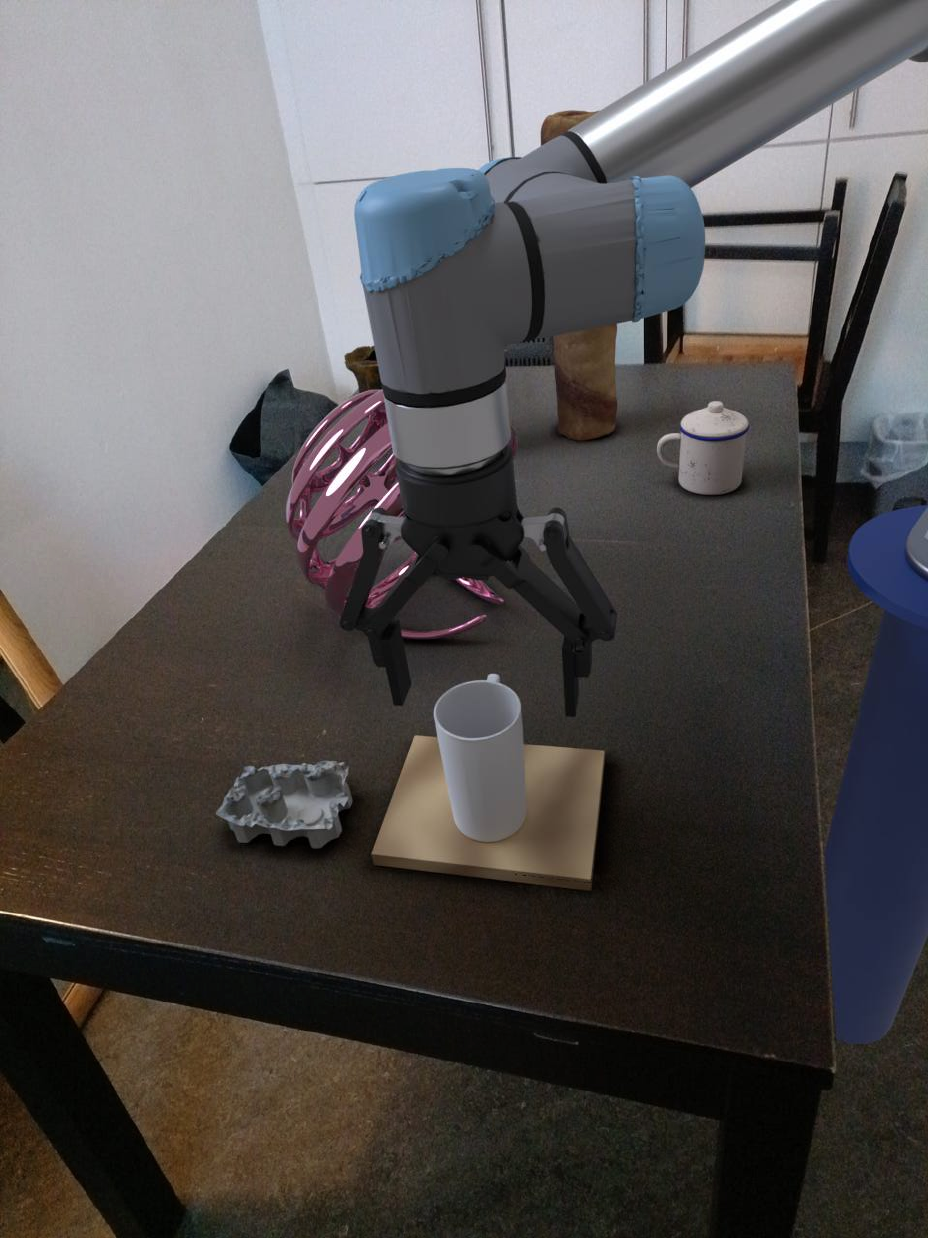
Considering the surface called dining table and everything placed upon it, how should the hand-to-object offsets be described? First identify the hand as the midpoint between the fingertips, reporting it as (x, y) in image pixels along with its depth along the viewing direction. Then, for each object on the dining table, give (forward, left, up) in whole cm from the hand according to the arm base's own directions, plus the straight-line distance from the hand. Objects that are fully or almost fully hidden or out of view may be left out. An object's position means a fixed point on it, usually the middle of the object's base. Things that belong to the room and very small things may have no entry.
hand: (485, 699), depth 64 cm
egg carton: (+18, +3, -13) cm, 23 cm away
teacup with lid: (-18, -63, -13) cm, 67 cm away
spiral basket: (+15, -31, -13) cm, 37 cm away
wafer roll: (0, -82, -13) cm, 83 cm away
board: (0, 0, -13) cm, 13 cm away
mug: (0, 0, -12) cm, 12 cm away
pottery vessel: (+23, -73, -13) cm, 78 cm away
